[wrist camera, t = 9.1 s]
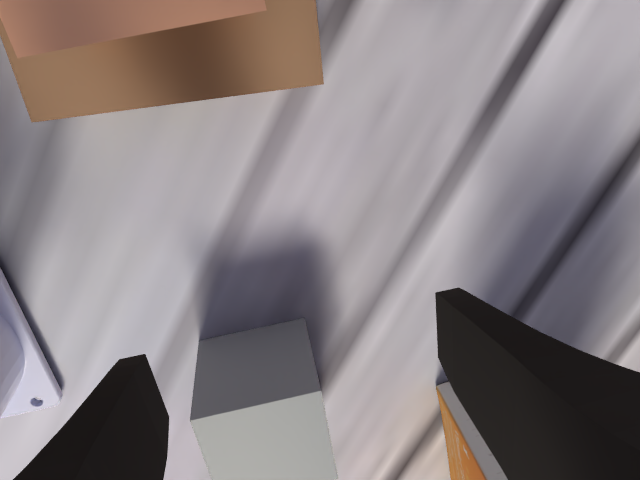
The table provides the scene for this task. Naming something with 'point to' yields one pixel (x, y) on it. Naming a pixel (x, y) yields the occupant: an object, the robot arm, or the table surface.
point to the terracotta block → (105, 19)
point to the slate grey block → (261, 406)
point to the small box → (465, 441)
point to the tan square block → (175, 64)
